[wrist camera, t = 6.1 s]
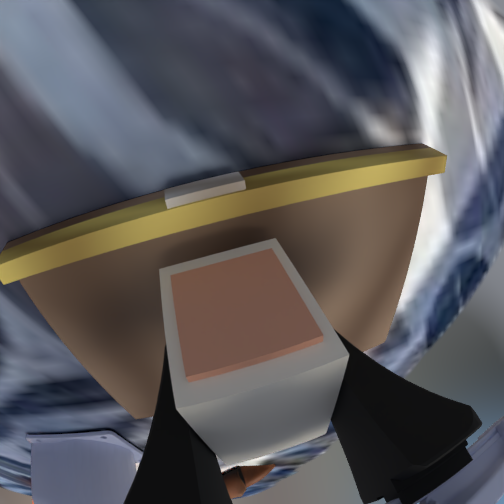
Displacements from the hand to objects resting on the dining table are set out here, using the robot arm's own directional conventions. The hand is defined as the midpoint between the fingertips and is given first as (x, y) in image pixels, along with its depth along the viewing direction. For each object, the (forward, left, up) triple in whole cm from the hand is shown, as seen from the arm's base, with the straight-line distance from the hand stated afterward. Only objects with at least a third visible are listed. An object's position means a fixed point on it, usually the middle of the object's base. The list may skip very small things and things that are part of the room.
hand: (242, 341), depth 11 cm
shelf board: (+1, -2, -3) cm, 4 cm away
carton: (0, 0, -1) cm, 1 cm away
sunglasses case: (-8, -39, -4) cm, 40 cm away
